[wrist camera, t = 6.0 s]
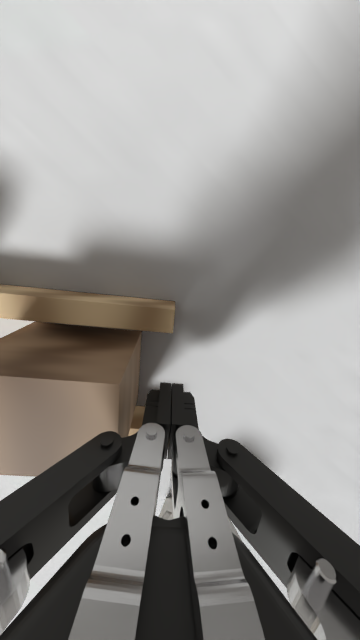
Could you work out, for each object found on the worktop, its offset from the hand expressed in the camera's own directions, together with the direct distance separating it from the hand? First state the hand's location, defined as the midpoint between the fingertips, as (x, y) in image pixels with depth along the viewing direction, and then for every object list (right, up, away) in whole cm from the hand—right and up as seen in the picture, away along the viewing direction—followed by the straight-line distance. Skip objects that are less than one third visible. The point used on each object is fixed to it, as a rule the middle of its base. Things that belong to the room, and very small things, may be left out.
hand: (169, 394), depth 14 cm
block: (-7, +2, +3) cm, 7 cm away
